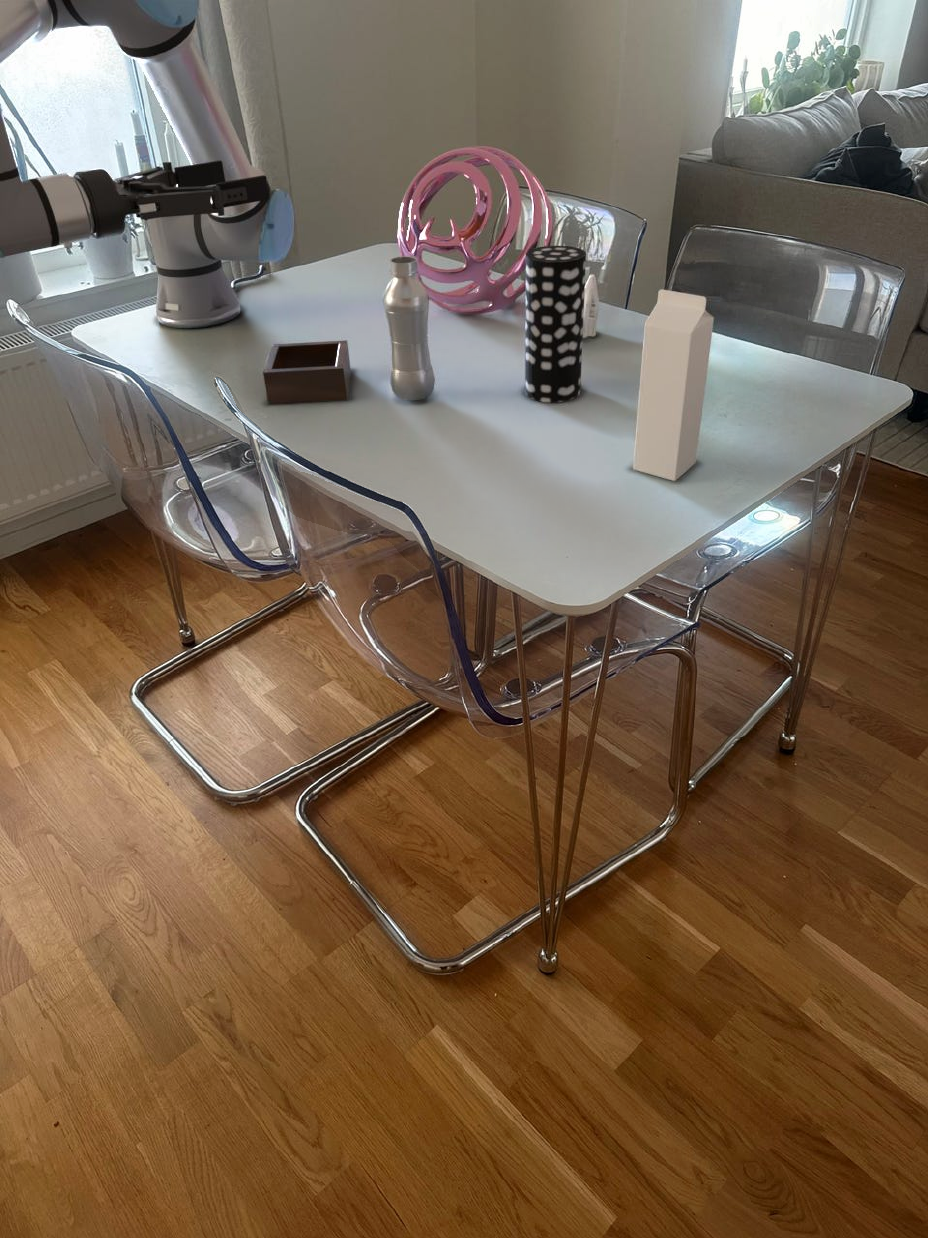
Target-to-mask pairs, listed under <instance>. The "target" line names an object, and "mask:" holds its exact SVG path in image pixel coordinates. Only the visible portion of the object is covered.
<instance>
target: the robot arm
mask: <svg viewBox="0 0 928 1238" xmlns="http://www.w3.org/2000/svg"><path fill="white" fill-rule="evenodd" d="M199 8H200V0H0V67H1V66H3V65H4V64H5V63H6V62H7V61H8V60H9V59H10V58H12V57H13V56H14V55H15V54H16V53H17V52H18V51H19V50H20V49H22V48H23V47H24V46H25V45H27V43H31V44H34V43H35V44H36V43H37V44H38V43H41V42H43V41H45V40H46V39H47V38H48V37H49V36H51V35H52V34H54V33H55V32H59V31H62V30H64V31H65V30H72V29H87V28H88V29H108V30H109V31H110V32H111V34H112V36H113V38H114V41H115V42H116V44H117V46H118V48H119V49H120V51H121V52H122V53H123V54H124V55H125V56H127V57H128V58H131V59H134V60H137V62H138V63H139V65H140V67H141V68H142V71H143V72H144V75H145V76H146V78H147V81H148V82H149V84H150V86H151V88H152V90H153V91H154V94H155V96H156V98H157V100H158V102H159V103H160V104H159V105H160V106H161V107H162V110H163V112H164V113H165V115H166V117H167V119H168V121H169V124H170V125H171V126H172V128H173V131H174V133H175V135H176V137H177V139H178V140H179V143H180V144H181V147H182V148H183V150H184V152H185V154H186V156H187V158H188V160H189V162H190V164H189V165H187V164H186V165H182V166H175V167H173V165H172V162H171V161H163V162H162V166H160V165H159V166H155V167H152V168H149V169H145V170H143V171H139V172H136V173H131V174H128V175H124V176H121V177H118V178H113V177H112V175H111V174H110V173H109V172H108V171H107V170H106V169H105V168H103V167H102V168H101V167H100V168H92V169H86V170H80V171H76V172H75V173H74V174H73V175H71V174H70V173H68V172H64V173H57V174H51V175H44V176H38V177H34V178H29V179H22V176H21V173H20V169H19V165H18V162H17V159H16V156H15V152H14V147H13V145H12V142H11V141H12V140H11V138H10V134H9V131H8V128H7V124H6V121H5V117H4V114H3V111H4V110H3V107H2V104H1V103H0V259H4V258H5V257H10V256H14V255H19V254H25V253H29V252H34V251H37V250H43V249H48V248H55V247H58V246H63V247H64V248H65V249H67V250H71V249H72V248H73V243H80V242H81V243H82V242H85V241H89V240H90V239H91V237H92V238H95V239H96V240H98V239H99V240H100V239H105V238H109V237H115V236H121V235H122V234H124V232H125V230H126V222H125V220H126V217H127V216H128V215H135V216H136V218H138V219H141V220H142V221H145V226H146V230H147V233H148V238H149V242H150V246H151V251H152V254H153V259H154V263H155V268H156V271H157V276H158V277H157V278H158V279H157V291H156V303H155V313H156V317H157V321H158V323H160V324H161V325H163V326H165V327H169V328H177V329H197V328H198V329H199V328H205V327H210V326H211V327H212V326H216V325H219V324H223V323H226V322H228V321H230V320H233V319H234V318H236V317H237V316H238V315H240V313H241V306H240V301H239V298H238V295H237V294H236V292H235V290H236V285H237V284H240V283H243V282H248V281H254V280H258V279H260V278H261V277H262V276H263V275H264V272H265V271H267V269H266V267H265V266H264V265H263V264H264V263H278V262H281V261H283V260H284V259H285V258H286V256H287V255H288V253H289V252H290V249H291V247H292V242H293V238H294V230H295V212H294V207H293V206H294V205H293V202H292V199H291V196H290V195H289V194H288V192H287V191H285V190H282V189H280V188H275V189H272V188H271V186H270V184H269V181H268V179H267V175H265V174H264V172H263V171H262V170H261V169H260V168H259V167H256V166H254V165H252V164H251V163H250V161H249V159H248V156H247V153H246V152H245V150H244V147H243V144H242V143H241V141H240V138H239V136H238V134H237V131H236V130H235V127H234V125H233V123H232V121H231V118H230V116H229V113H228V111H227V108H226V107H225V105H224V103H223V101H222V98H221V96H220V93H219V91H218V89H217V87H216V84H215V82H214V80H213V78H212V75H211V73H210V71H209V68H208V66H207V64H206V62H205V60H204V57H203V56H202V52H201V51H200V49H199V46H198V44H197V42H196V40H195V36H194V35H193V34H194V32H195V29H196V27H197V14H198V12H199V10H200V9H199ZM222 261H227V262H228V261H229V262H246V263H259V264H261V265H259V272H258V273H256V274H254V275H253V274H252V275H250V276H249V275H248V276H244V277H239V278H236V279H234V280H233V281H232V282H231V283H230V281H229V278H228V277H227V275H226V273H225V270H224V268H223V263H222Z"/></svg>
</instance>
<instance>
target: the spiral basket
mask: <svg viewBox="0 0 928 1238" xmlns="http://www.w3.org/2000/svg"><path fill="white" fill-rule="evenodd" d="M462 156H469V157H470V156H471V157H470V158H467V159H464V160H461V161H460V160H459V161H458V160H457V161H452V160H454V159H457V158H459V157H462ZM484 166H493V167H494V169H496V171H497V172H498V174H499V175H500V177H501V178H502V181H503V183H504V186H505V189H506V195H507V208H506V209H507V210H506V215H505V220H504V223H503V226H502V228H501V231H500V233H499V235H498V237H497V238H496V240H495V242H493V244H492V245H491V247H490V248H489V249H488V250H487V251H486V252H485V253H484V254H483V255H481V256H477V255H475V254H474V252H473V250H472V246H471V245H472V244H473V242H474V241H475V240H476V239H477V238H478V237H479V236H480V235H481V233H482V232H483V230H484V229H485V228H486V225H487V224H488V221H489V219H490V215H491V211H492V206H493V205H492V204H493V195H492V189H491V185H490V182H489V180H488V178H487V176H485V173H483V171H482V170H481V169H479V168H478V167H484ZM512 169H513V170H515V171H518V172H519V173H520V174H521V175H522V176H523V178H524V179H525V180H524V181H526V185H527V186H528V189H529V192H530V197H531V203H532V217H531V224H530V230H529V233H528V237H527V240H526V243H525V244H524V247H523V249H522V251H521V253H520V254H519V256H518V258H517V259H516V261H515V262H514V263H513V265H511V266H510V268H509V269H508V270H507V271H506V272H505V273H504V274H503V275H502V276H500V277H499V278H498V279H495V280H494V279H492V278H491V277H490V276H491V275H492V273H493V272H492V271H491V269H492V268H493V267H494V266H495V265H496V264H498V262H499V261H500V260H501V259H502V258H503V257H504V255H505V254H506V253H507V251H508V250H509V248H510V246H511V245H512V243H513V241H514V239H515V237H516V235H517V232H518V229H519V225H520V222H521V214H522V195H521V190H520V185H519V183H518V180H517V178H516V176H515V174H514V172H513V170H512ZM459 175H461V176H463V177H465V178H466V179H468V180H469V181H470V182H471V184H472V186H473V188H474V191H475V196H476V203H475V208H474V212H473V214H472V216H471V218H470V219H469V221H468V222H467V224H466V225H465V226H464V227H463V228H460V227H459V226H458V225H457V223H456V221H455V220H454V218H452V217H450V219H449V220H450V221H449V222H450V226H451V231H452V234H451V235H448V236H438V235H435V234H432V232H431V230H432V227H433V224H434V221H435V215H433V216H432V217H430V218H429V220H428V221H427V222H426V223H425V225H424V224H423V222H422V218H423V216H424V214H425V211H426V209H427V208H428V206H429V205H430V203H431V202H432V200H433V199H434V197H435V196H436V195H437V194H438V193H439V192H440V190H441V189H442V188H443V187H444V186H445V185H446V184H448V183H449V182H450V181H451V180H453V179H455V177H457V176H459ZM543 204H544V207H545V214H546V232H545V239H544V242H543V243H544V244H543V246H542V247H544V246H552V242H553V234H554V233H553V232H554V220H553V217H554V216H553V210H552V206H551V203H550V199H549V196H548V194H547V192H546V190H545V188H544V186H543V184H542V183H541V181H540V179H538V177H537V176H536V175H535V174H534V173H533V172H532V171H531V170H530V169H529V168H528V167H527V166H526V165H525V164H524V163H522V162H521V160H519V159H518V158H517V157H515V156H514V155H512V154H511V153H510V152H509V153H508V152H507V151H504V150H502V149H499V148H495V147H492V146H485V145H484V146H483V145H476V146H467V147H461V148H455V149H452V150H448V151H446V152H443V153H441V154H440V155H438V156H437V157H435V158H433V159H432V160H430V161H428V163H427V164H425V165H424V166H423V168H421V169H420V170H419V172H418V173H417V174H416V175H415V176H414V178H413V179H412V180H411V182H410V183H409V186H408V187H407V189H406V191H405V194H404V196H403V199H402V201H401V205H400V209H399V214H398V226H397V227H398V228H397V243H398V250H399V255H400V257H403V256H408V257H414V258H416V259H417V268H418V274H416V276H417V278H418V279H419V281H420V282H421V283H422V284H423V286H424V287H425V289H426V290H427V293H428V296H429V301H430V302H431V303H433V304H435V305H436V306H438V307H439V308H442V309H443V310H446V311H448V312H451V313H454V314H457V315H462V316H463V315H464V316H479V315H484V314H489V313H493V312H496V311H501V310H507V309H509V308H512V307H513V306H515V304H516V301H517V299H518V298H519V297H521V296H522V295H523V294H525V293H526V279H525V280H524V281H523V282H522V283H521V284H520V285H519V286H518V287H517V288H516V289H515V288H514V286H513V283H514V282H515V281H516V280H517V279H518V278H519V277H520V276H521V274H522V273H523V272H524V270H526V252H528V251H529V250H531V249H534V248H538V247H537V246H538V243H539V241H540V237H541V233H542V227H543V219H544V218H543V216H544V214H543ZM407 216H408V217H409V218H408V217H407ZM407 218H408V220H409V225H408V230H407V232H406V221H407ZM406 233H407V234H406ZM425 249H427V250H429V251H431V252H434V253H439V254H450V253H451V254H452V253H454V252H459V253H460V254H461V255H462V257H463V260H464V265H463V266H462V267H458V268H453V269H452V268H451V269H443V268H437V267H433V266H431V265H429V264H427V263H425V261H424V259H423V251H424V250H425ZM421 276H423V277H424V278H425V279H426V278H427V279H428V280H431V281H433V282H437V283H441V284H461V283H465V282H470V283H468V284H467V285H464V286H462V287H460V288H459V287H458V288H457V289H453V290H450V291H443V292H440V291H437V290H435V289H432V288H430V287H429V286H428V285H426V284H425V283H424V281H423V279H422V277H421ZM476 288H478V289H477V290H475V289H476ZM505 290H506V295H505V294H504V292H505ZM472 291H474V292H472ZM482 302H489V303H490V304H488V305H486V306H482V307H475V308H461V307H456V306H466V305H473V304H477V303H482ZM453 305H454V306H453ZM455 305H456V306H455Z"/></svg>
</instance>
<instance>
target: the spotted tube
mask: <svg viewBox="0 0 928 1238" xmlns="http://www.w3.org/2000/svg"><path fill="white" fill-rule="evenodd" d="M543 246H544V245H543ZM543 246H539V247H536V248H534V249H531V250H529V251H528V252H526V268H525V280H526V291H525V292H524V294H525V297H524V299H525V301H524V302H525V303H524V304H525V305H524V306H525V309H524V311H525V316H524V317H525V319H524V321H525V322H524V325H525V329H524V332H525V333H524V335H525V336H524V339H525V340H524V341H525V342H524V343H525V344H524V393H525V395H526V396H527V397H528V398H530V399H532V400H534V401H537V402H542V403H562V402H567V401H571V400H573V399H575V398H577V397H579V396H580V394H581V389H582V387H581V386H582V384H581V383H582V365H583V364H582V361H583V339H584V338H583V331H584V330H583V316H584V292H585V285H586V266H587V265H586V264H587V252H586V251H585V250H584V249H582V248H579V247H575V246H571V245H551V246H544V247H543Z"/></svg>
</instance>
